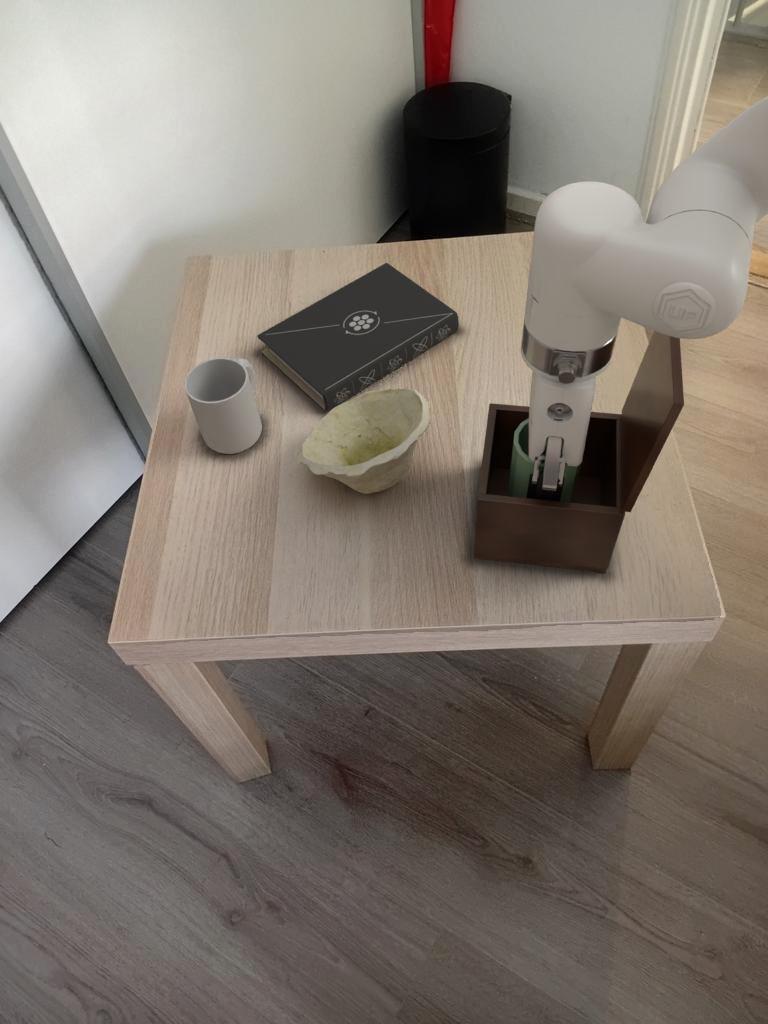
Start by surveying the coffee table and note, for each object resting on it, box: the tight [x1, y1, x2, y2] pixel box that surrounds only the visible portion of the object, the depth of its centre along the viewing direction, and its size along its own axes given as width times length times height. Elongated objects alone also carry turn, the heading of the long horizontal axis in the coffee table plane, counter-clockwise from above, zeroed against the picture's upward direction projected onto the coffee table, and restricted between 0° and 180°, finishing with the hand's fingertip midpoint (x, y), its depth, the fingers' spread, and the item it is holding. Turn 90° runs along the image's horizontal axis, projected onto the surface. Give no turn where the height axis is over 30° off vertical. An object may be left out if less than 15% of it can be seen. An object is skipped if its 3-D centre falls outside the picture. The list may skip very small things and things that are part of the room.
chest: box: [473, 402, 626, 574], centre depth 80 cm, size 14×13×10 cm
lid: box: [621, 331, 685, 513], centre depth 69 cm, size 14×13×1 cm
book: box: [256, 262, 460, 413], centre depth 101 cm, size 22×15×3 cm
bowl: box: [297, 387, 432, 495], centre depth 86 cm, size 15×14×10 cm
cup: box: [183, 357, 263, 455], centre depth 92 cm, size 7×10×9 cm
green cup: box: [508, 418, 585, 503], centre depth 78 cm, size 7×7×8 cm
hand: (544, 472), depth 78 cm, fingers closed on green cup, 6 cm apart
